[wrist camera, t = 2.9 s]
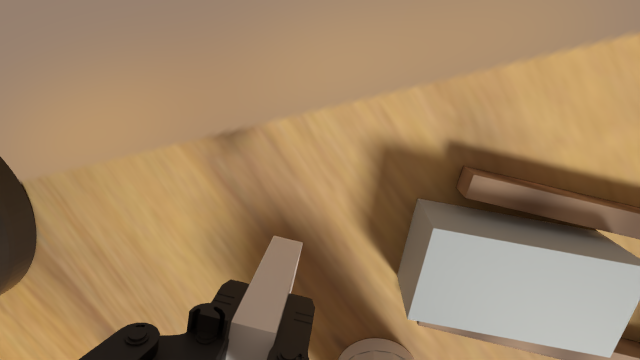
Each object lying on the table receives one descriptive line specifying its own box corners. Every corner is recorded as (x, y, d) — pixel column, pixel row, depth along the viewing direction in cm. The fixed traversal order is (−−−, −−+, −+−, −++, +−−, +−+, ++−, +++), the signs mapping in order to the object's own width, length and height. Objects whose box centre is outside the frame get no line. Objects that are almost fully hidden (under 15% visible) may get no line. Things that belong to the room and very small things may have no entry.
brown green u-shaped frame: (413, 306, 27) (427, 358, 22) (463, 166, 23) (493, 190, 19) (679, 370, 27) (752, 436, 22) (768, 238, 23) (876, 282, 18)
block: (396, 273, 26) (407, 319, 22) (417, 197, 24) (433, 228, 20) (562, 304, 26) (610, 357, 21) (594, 229, 24) (655, 269, 19)
